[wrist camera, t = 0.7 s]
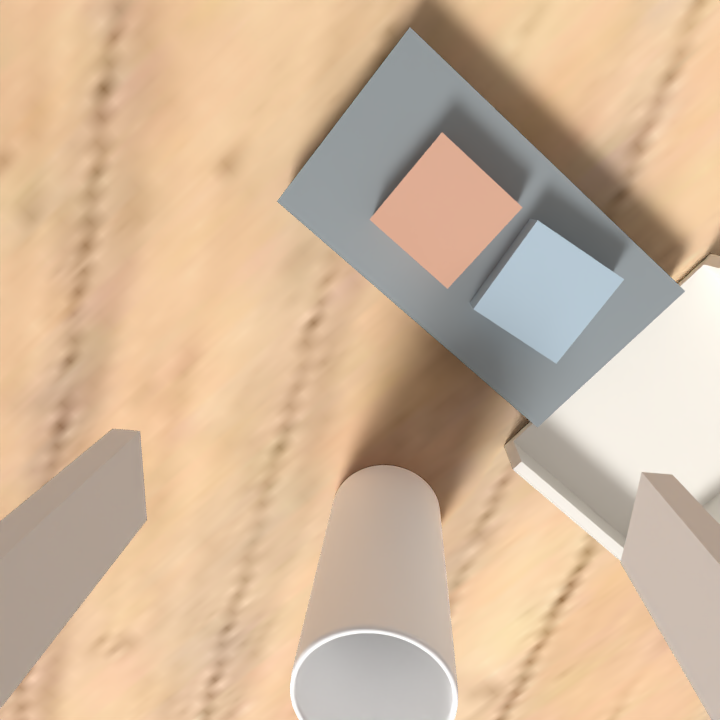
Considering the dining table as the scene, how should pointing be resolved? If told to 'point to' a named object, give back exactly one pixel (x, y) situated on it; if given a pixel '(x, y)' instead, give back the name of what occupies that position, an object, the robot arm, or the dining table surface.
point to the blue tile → (545, 290)
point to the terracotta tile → (445, 211)
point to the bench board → (539, 201)
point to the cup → (378, 608)
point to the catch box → (637, 420)
